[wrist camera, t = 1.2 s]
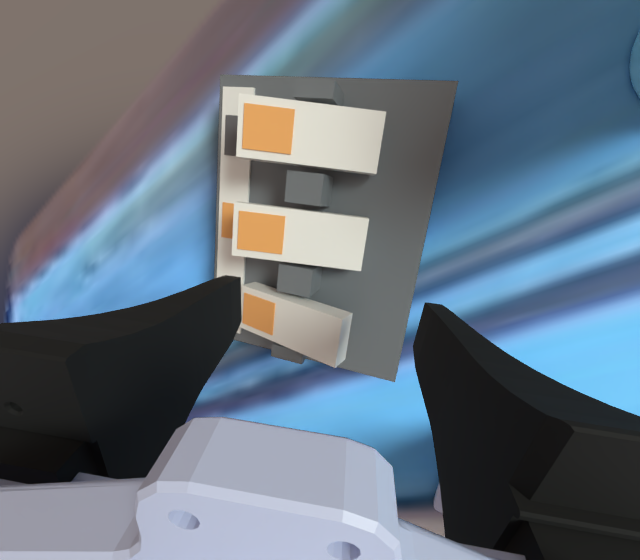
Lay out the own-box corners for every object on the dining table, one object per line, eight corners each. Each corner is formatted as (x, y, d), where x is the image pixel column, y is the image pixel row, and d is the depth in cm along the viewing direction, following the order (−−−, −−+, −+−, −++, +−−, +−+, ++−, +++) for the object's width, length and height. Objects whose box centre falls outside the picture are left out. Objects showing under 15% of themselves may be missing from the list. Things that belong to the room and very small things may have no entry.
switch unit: (396, 363, 21) (392, 401, 17) (231, 321, 25) (194, 345, 20) (452, 98, 17) (464, 62, 13) (242, 89, 20) (197, 59, 16)
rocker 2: (345, 359, 17) (334, 368, 16) (252, 321, 21) (238, 327, 20) (352, 313, 17) (341, 319, 16) (255, 281, 20) (240, 285, 19)
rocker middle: (358, 266, 18) (361, 271, 17) (238, 251, 18) (231, 255, 17) (366, 217, 17) (369, 218, 16) (240, 201, 17) (233, 201, 16)
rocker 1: (373, 175, 16) (376, 173, 15) (242, 158, 16) (235, 156, 15) (382, 117, 16) (386, 111, 15) (245, 100, 16) (238, 92, 14)
